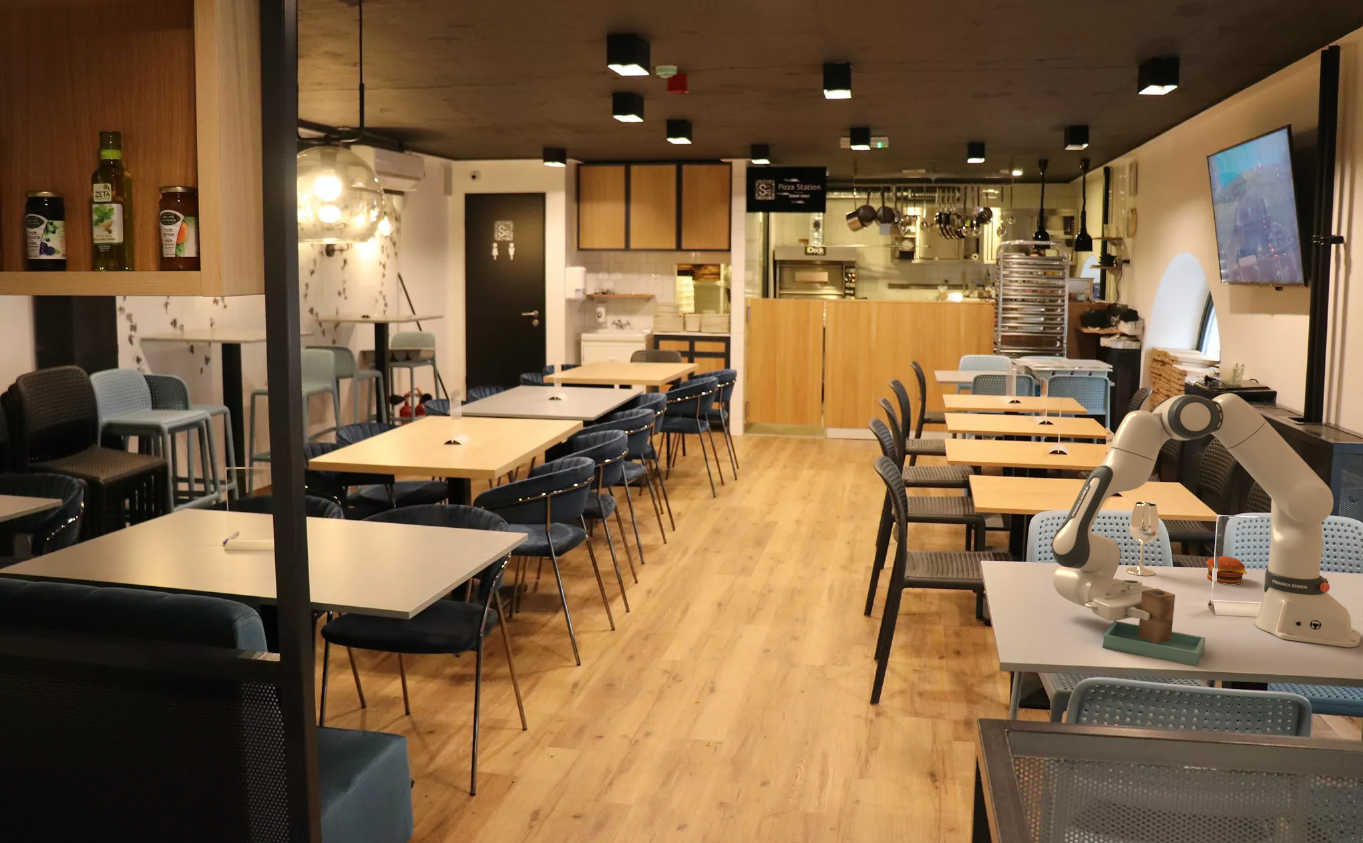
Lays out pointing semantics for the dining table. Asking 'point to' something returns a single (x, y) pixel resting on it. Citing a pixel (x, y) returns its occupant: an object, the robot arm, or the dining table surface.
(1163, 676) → the dining table surface
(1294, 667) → the dining table surface
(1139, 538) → the wineglass
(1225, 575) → the hamburger
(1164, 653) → the tray
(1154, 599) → the block
